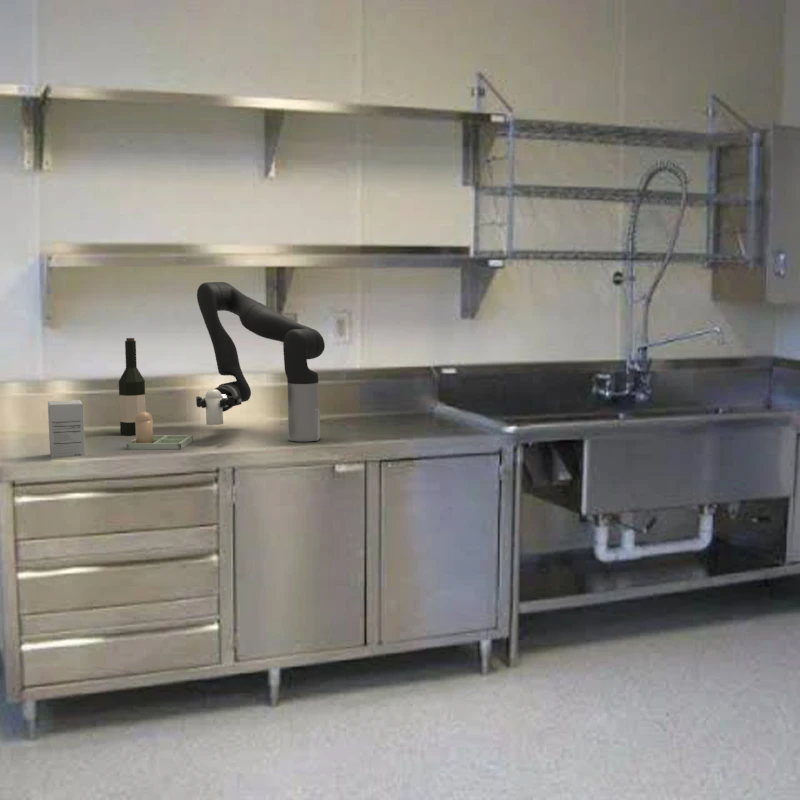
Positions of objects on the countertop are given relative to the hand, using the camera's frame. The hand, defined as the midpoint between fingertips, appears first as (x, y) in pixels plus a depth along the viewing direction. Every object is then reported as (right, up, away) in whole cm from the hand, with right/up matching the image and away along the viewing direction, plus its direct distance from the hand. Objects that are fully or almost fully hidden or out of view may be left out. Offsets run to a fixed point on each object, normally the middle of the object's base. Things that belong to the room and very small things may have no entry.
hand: (212, 404), depth 299 cm
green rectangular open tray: (-15, -12, +2) cm, 20 cm away
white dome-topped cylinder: (0, -6, +3) cm, 7 cm away
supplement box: (-38, -14, -12) cm, 42 cm away
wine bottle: (-30, -10, +27) cm, 41 cm away
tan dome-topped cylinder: (-19, -12, -2) cm, 23 cm away
